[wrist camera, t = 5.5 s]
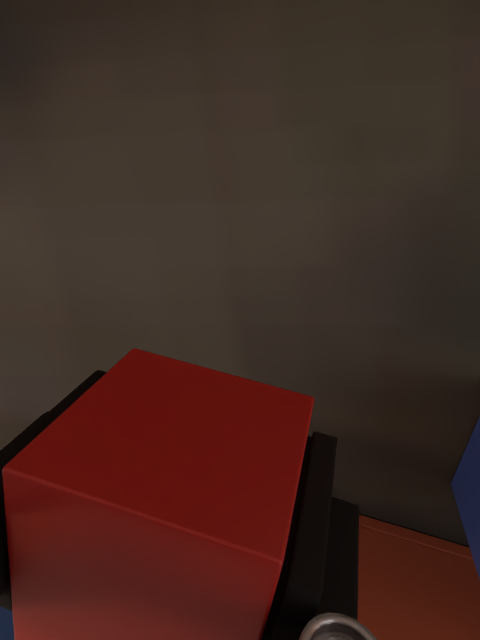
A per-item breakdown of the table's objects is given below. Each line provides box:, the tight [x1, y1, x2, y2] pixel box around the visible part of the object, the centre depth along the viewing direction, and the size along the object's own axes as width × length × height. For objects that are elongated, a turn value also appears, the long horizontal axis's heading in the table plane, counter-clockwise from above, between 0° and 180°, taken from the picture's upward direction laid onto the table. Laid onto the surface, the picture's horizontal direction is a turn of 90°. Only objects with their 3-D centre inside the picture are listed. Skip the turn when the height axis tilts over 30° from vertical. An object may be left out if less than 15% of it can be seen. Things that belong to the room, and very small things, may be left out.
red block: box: [2, 349, 314, 640], centre depth 9 cm, size 4×4×4 cm
